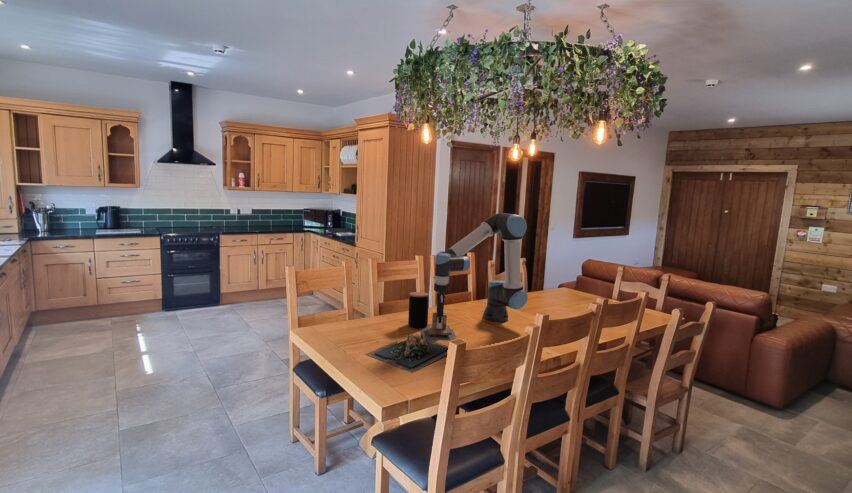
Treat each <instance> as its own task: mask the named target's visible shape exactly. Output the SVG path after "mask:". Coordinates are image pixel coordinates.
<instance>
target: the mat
mask: <svg viewBox="0 0 852 493" xmlns="http://www.w3.org/2000/svg"><path fill="white" fill-rule="evenodd" d="M422 330H423V331H422ZM450 330H451V333H452V334H451V335H431V334H428V331H427V327H425V328H419V331H420V333H421V331H422V334H423V335H424V336H423V338H425V339H427V340H430V341H444V342H445V341H448V342H450V341H451V340H454V339H457V337H456V334H455V332H454V329H453V328H450ZM451 342H452V341H451Z"/></svg>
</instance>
